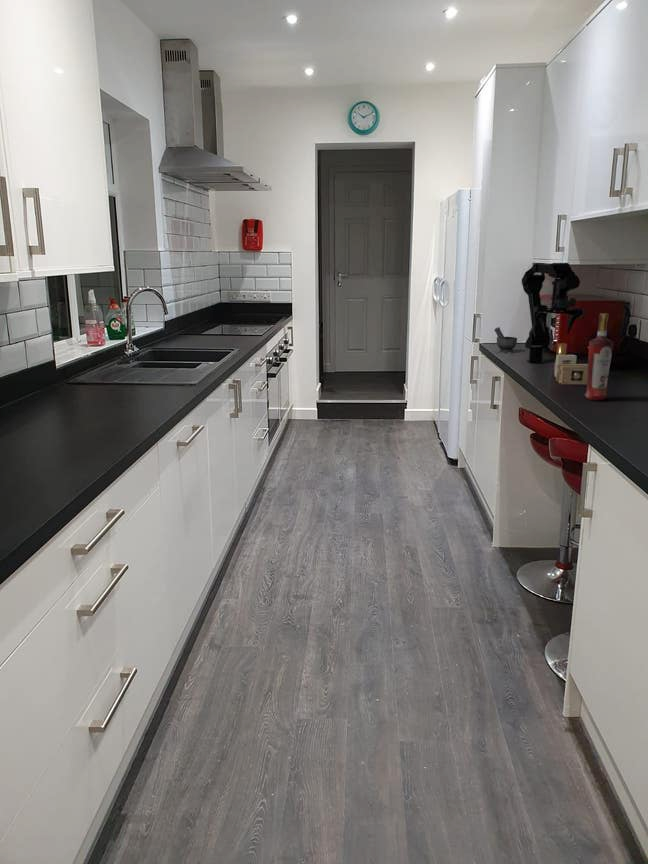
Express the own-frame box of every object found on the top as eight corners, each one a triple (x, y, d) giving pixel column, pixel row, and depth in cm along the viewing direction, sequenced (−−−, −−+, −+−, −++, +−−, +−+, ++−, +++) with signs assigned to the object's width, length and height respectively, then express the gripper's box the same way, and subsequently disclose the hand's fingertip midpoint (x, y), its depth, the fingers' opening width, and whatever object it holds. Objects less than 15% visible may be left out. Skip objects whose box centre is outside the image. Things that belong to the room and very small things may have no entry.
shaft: (550, 372, 268) (553, 343, 265) (565, 372, 268) (568, 343, 264) (568, 383, 246) (571, 351, 243) (584, 383, 246) (587, 351, 243)
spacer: (554, 376, 261) (556, 354, 259) (572, 376, 261) (574, 354, 259) (556, 377, 258) (558, 356, 256) (574, 377, 258) (576, 356, 256)
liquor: (599, 396, 225) (608, 312, 217) (611, 401, 218) (621, 314, 211) (579, 397, 224) (587, 313, 216) (591, 402, 217) (599, 315, 209)
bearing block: (556, 380, 252) (557, 363, 251) (585, 380, 252) (587, 363, 250) (561, 384, 246) (563, 367, 244) (591, 384, 245) (593, 367, 244)
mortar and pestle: (513, 350, 328) (515, 326, 325) (519, 353, 319) (520, 328, 316) (490, 350, 328) (492, 326, 325) (495, 353, 319) (496, 328, 316)
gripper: (542, 287, 261) (539, 327, 261) (590, 291, 261) (587, 331, 261) (534, 293, 272) (530, 331, 272) (580, 297, 272) (576, 335, 272)
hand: (556, 332), depth 269 cm, fingers open, 9 cm apart
